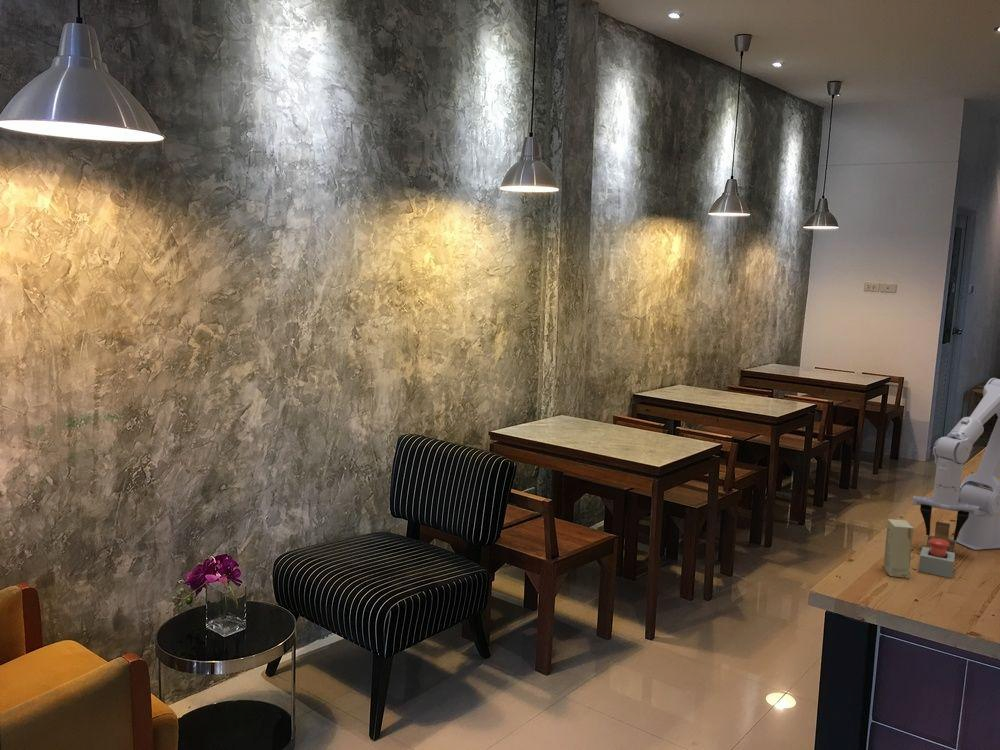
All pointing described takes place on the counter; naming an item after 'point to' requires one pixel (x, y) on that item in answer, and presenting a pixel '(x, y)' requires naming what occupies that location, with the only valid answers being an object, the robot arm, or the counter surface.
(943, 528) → the carriage
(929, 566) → the grey rectangular block
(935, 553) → the plunger
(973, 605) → the counter surface
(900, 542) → the skincare box
